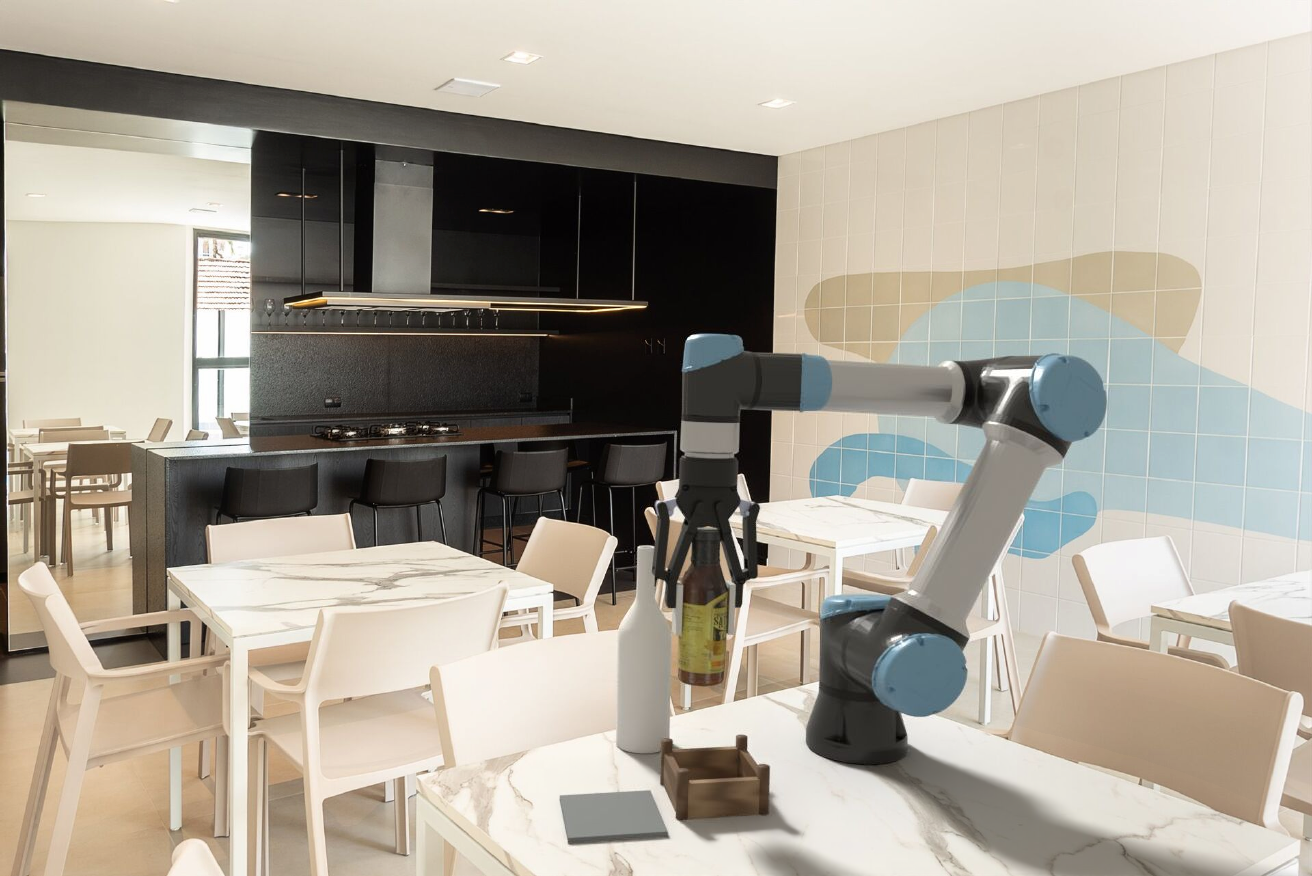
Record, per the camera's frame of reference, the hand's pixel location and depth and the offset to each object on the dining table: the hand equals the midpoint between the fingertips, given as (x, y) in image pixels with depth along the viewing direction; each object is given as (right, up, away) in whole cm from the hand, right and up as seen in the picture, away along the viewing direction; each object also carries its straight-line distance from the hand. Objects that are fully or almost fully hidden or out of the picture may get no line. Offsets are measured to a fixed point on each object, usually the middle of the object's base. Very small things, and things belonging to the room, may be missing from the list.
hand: (702, 632), depth 127 cm
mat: (-12, -22, -4) cm, 26 cm away
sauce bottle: (0, -7, 0) cm, 7 cm away
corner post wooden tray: (+1, -22, +2) cm, 22 cm away
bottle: (-8, -21, +21) cm, 31 cm away
